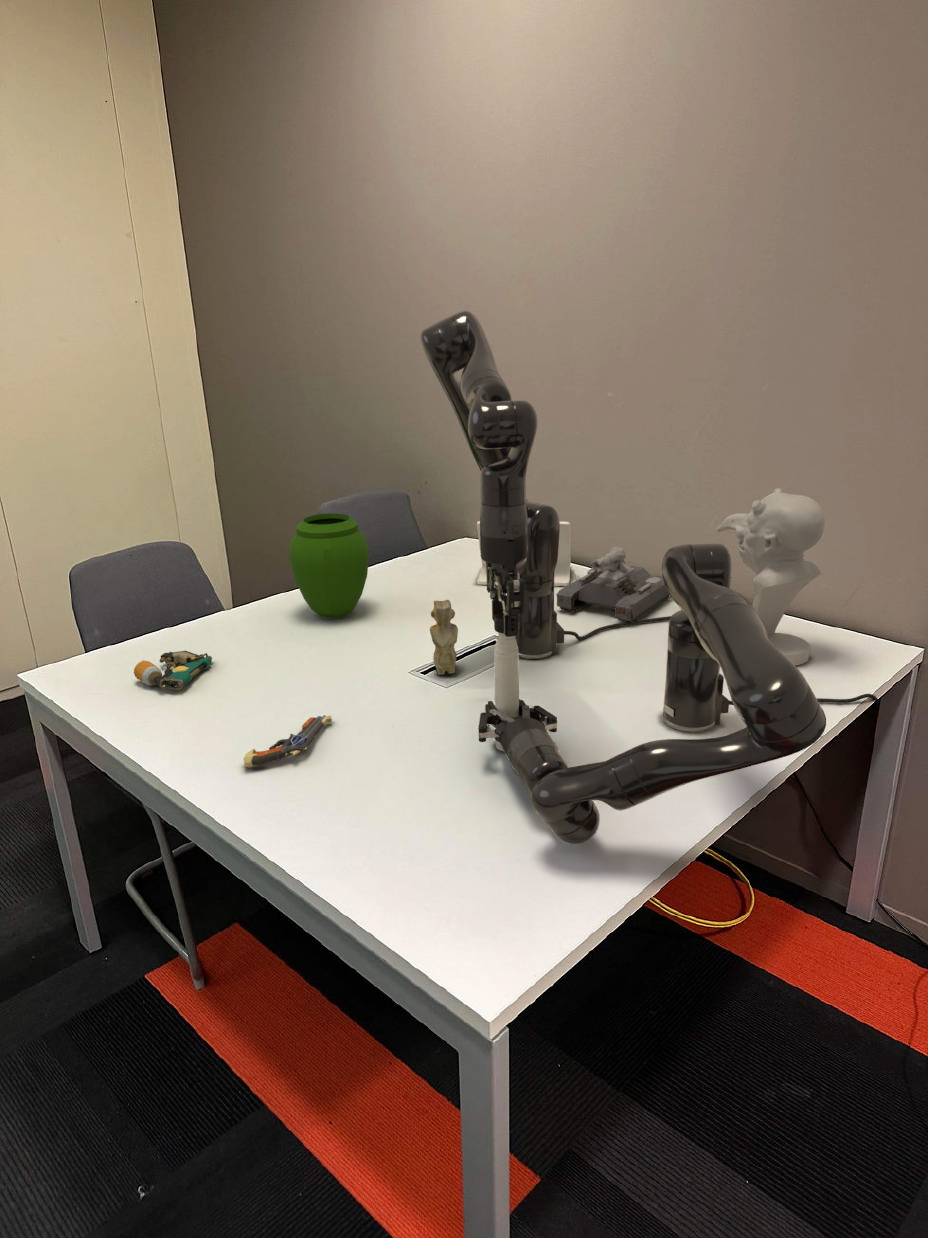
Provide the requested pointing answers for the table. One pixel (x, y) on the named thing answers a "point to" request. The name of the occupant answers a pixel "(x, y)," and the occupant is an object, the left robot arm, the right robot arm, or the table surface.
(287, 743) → the toy gun
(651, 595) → the toy
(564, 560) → the tablet stand
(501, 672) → the bottle
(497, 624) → the cap
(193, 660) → the spray gun
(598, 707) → the table surface
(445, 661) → the sculpture
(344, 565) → the vase
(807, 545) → the bust sculpture
